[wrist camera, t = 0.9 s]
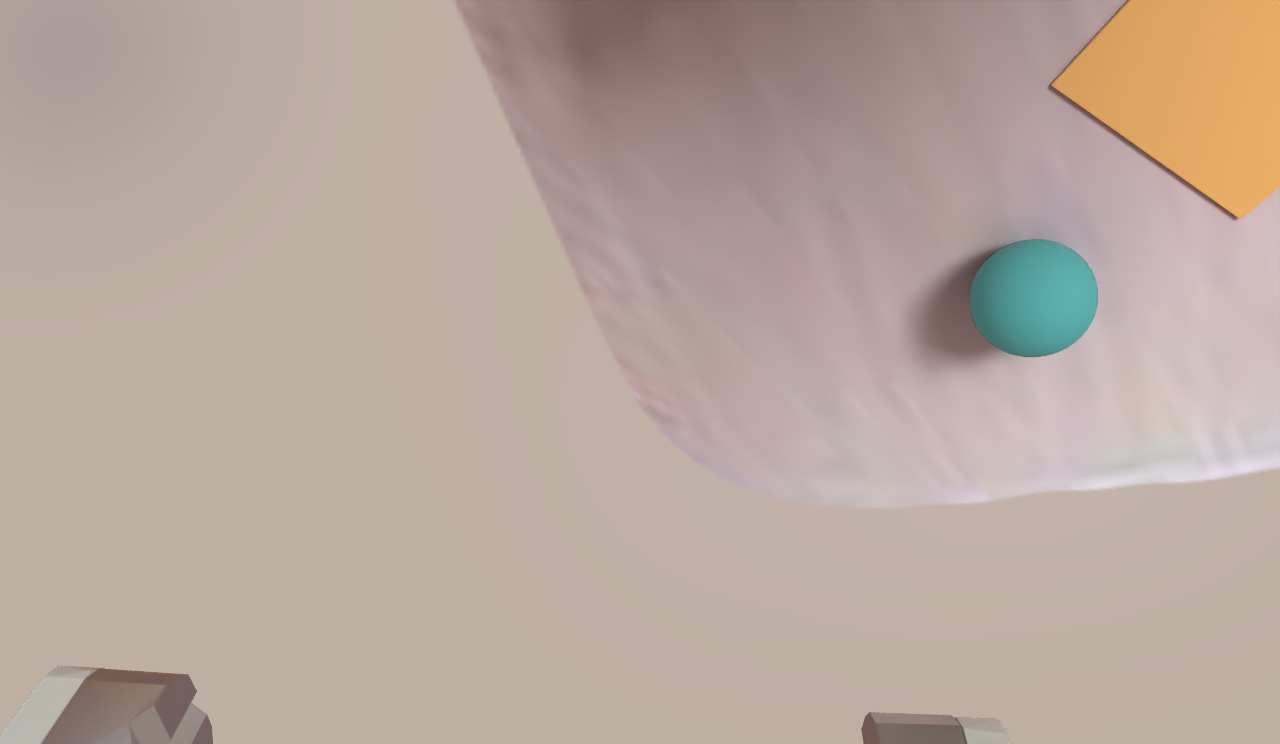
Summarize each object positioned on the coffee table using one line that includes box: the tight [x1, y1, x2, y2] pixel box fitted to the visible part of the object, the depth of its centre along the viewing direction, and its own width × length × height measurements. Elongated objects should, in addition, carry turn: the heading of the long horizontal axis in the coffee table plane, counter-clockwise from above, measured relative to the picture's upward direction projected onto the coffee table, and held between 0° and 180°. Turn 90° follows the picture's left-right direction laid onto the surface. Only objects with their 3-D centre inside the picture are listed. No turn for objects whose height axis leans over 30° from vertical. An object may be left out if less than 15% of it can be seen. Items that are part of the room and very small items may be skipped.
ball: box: [970, 239, 1098, 357], centre depth 45 cm, size 6×6×6 cm
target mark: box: [1051, 0, 1280, 219], centre depth 39 cm, size 12×12×1 cm
